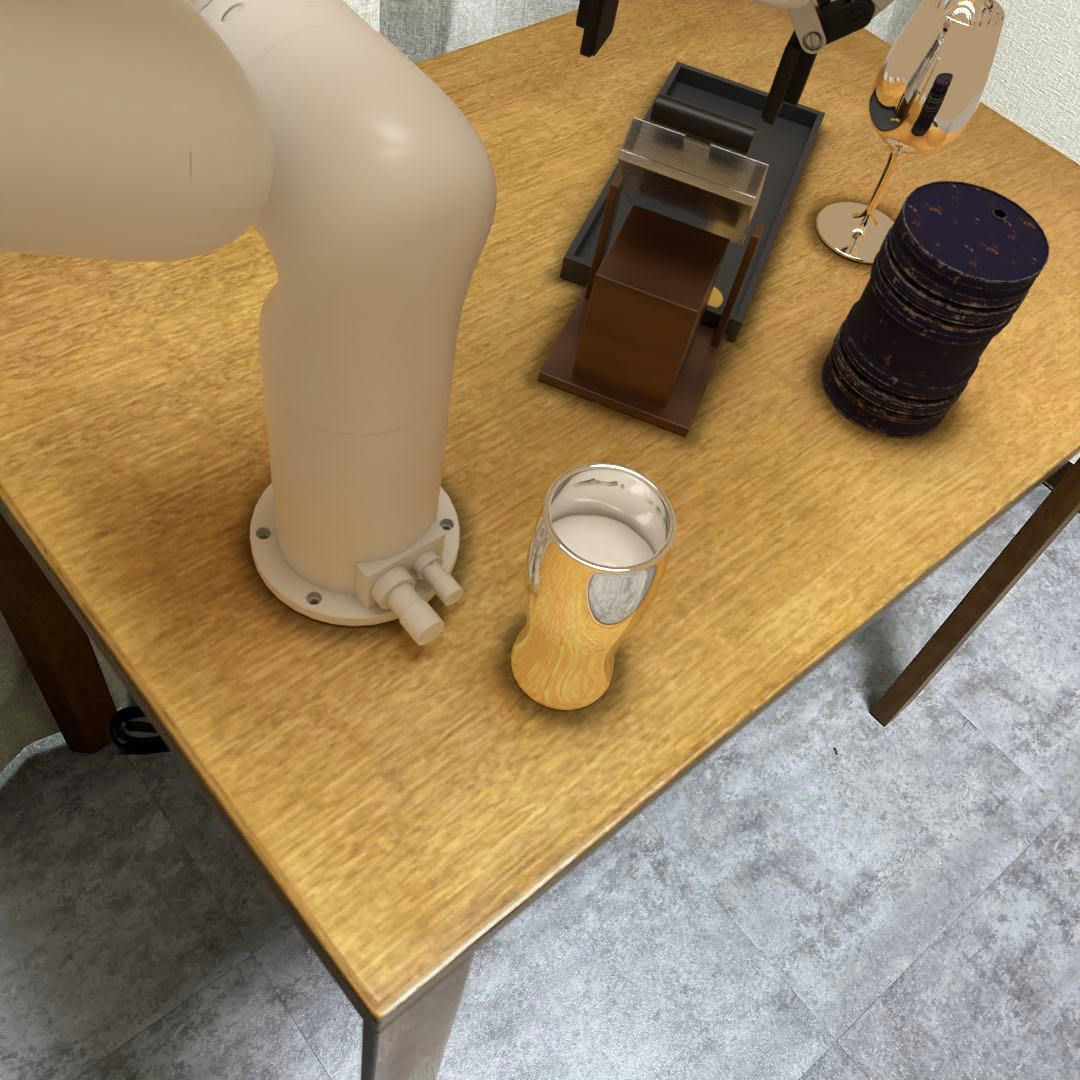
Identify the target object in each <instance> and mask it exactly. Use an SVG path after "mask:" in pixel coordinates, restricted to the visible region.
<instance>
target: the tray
mask: <svg viewBox="0 0 1080 1080" xmlns="http://www.w3.org/2000/svg"><path fill="white" fill-rule="evenodd" d="M659 93H662V94H664V95H667V96H670V97H673V98H676V99H679V100H682V101H684V102H687V103H690V104H693V105H696V106H699V107H701V108H704V109H707V110H710V111H713V112H716V113H719V114H721V115H724V116H727V117H730V118H733V119H736V120H738V121H741V122H744V123H747V124H750V125H753V126H756V127H757V132H756V135H755V138H754V141H753V143H752V146H751V148H750V151H749V153H748V155H744V154H741V153H739V152H736V151H733V150H730V149H727V148H724V147H722V146H719V145H716V144H713V145H714V146H717V147H720V148H723V149H726V150H728V151H731V152H734V153H737V154H740V155H743V156H745V157H748V158H751V159H754V160H757V161H760V162H762V163H765V164H768V165H769V167H768V170H767V173H766V177H765V180H764V184H763V188H762V191H761V195H760V198H759V202H758V204H757V207H756V209H755V212H754V214H753V217H752V220H751V222H750V225H749V227H748V229H747V233H746V237H745V240H744V242H743V245H740V244H737V243H735V242H732V241H730V243H729V246H728V248H727V251H726V254H725V257H724V260H723V262H722V265H721V268H720V271H719V274H718V276H717V279H716V282H715V285H714V287H715V288H717V289H718V290H719V291H720V292H721V294H722V296H723V303H722V305H721V308H720V309H718V308H715V307H713V306H710V305H707V307H706V310H705V313H704V316H703V318H702V321H701V325H704V326H707V327H709V328H712V329H715V330H716V328H717V326H718V323H719V320H720V318H721V315H722V312H723V310H724V307H725V304H726V302H727V299H728V296H729V294H730V291H731V288H732V286H733V283H734V280H735V278H736V275H737V272H738V270H739V267H740V264H741V262H742V259H743V256H744V254H745V251H746V248H747V246H748V243H749V240H750V238H751V235H752V233H753V230H754V228H755V225H756V223H757V222H759V223H762V224H764V225H765V227H764V230H763V233H762V235H761V238H760V240H759V243H758V246H757V248H756V251H755V253H754V256H753V259H752V261H751V264H750V266H749V269H748V272H747V274H746V277H745V279H744V282H743V285H742V287H741V290H740V292H739V295H738V298H737V300H736V303H735V305H734V308H733V311H732V313H731V316H730V318H729V321H728V324H727V326H726V329H725V331H724V333H725V334H727V338H726V340H728V341H730V342H731V341H732V342H733V343H735V342H736V341H737V338H738V335H739V333H740V330H741V328H742V325H743V323H744V320H745V318H746V315H747V313H748V310H749V307H750V305H751V303H752V300H753V297H754V295H755V292H756V290H757V287H758V285H759V282H760V280H761V277H762V275H763V272H764V270H765V267H766V265H767V262H768V260H769V257H770V254H771V252H772V249H773V247H774V245H775V242H776V240H777V237H778V234H779V232H780V229H781V227H782V224H783V222H784V219H785V217H786V214H787V211H788V209H789V207H790V204H791V201H792V198H793V196H794V194H795V192H796V189H797V186H798V184H799V182H800V179H801V176H802V174H803V172H804V169H805V166H806V163H807V162H808V159H809V156H810V154H811V151H812V149H813V146H814V144H815V141H816V139H817V136H818V133H819V131H820V128H821V126H822V123H823V121H824V118H825V116H826V112H824V111H821V110H819V109H816V108H812V107H810V106H807V105H804V104H802V103H798V104H797V106H794V105H791V104H789V103H786V102H784V104H783V106H782V108H781V110H780V112H779V114H778V116H777V118H776V120H775V122H774V124H773V125H770V124H768V123H765V122H763V121H764V119H763V118H761V114H762V112H763V109H764V106H765V103H766V100H767V97H768V94H769V92H766V91H764V90H761V89H758V88H755V87H753V86H749V85H748V84H744V83H741V82H738V81H736V80H732V79H729V78H727V77H724V76H720V75H717V74H715V73H712V72H709V71H707V70H703V69H700V68H699V67H695V66H692V65H690V64H686V63H683V62H680V61H676V62H675V64H674V65H673V67H672V69H671V71H670V73H669V74H668V76H667V77H666V79H665V81H664V83H663V85H662V87H661V88H660V90H659V92H658V94H659ZM658 94H657V95H658ZM655 99H656V97H655V98H654V100H653V101H652V103H651V105H650V107H649V109H648V111H647V113H645V116H644V118H643V119H642V120H644V121H647V122H649V123H652V124H655V125H658V126H661V127H664V128H666V129H669V130H672V131H675V132H678V133H681V134H683V135H685V133H682V132H679V131H676V130H674V129H671V128H668V127H665V126H662V125H660V124H657V123H654V122H651V121H650V114H651V110H652V107H653V104H654V102H655ZM618 172H620V167H619V162H617V164H616V165H615V168H614V169H613V171H612V173H611V175H610V177H609V178H608V180H607V182H606V184H605V185H604V187H603V188H602V190H601V192H600V194H599V196H598V197H597V199H596V201H595V203H594V204H593V206H592V208H591V209H590V211H589V213H588V214H587V216H586V218H585V219H584V222H583V223H582V225H581V227H580V229H579V230H578V232H577V234H576V235H575V237H574V239H573V240H572V242H571V244H570V246H569V247H568V249H567V251H566V253H565V254H564V256H563V260H562V265H561V270H560V274H559V277H560V278H562V279H565V280H568V281H570V282H572V283H576V284H578V285H581V286H584V287H586V286H587V284H588V279H589V275H590V271H591V267H592V262H593V258H594V254H595V250H596V245H597V241H598V237H599V232H600V228H601V224H602V220H603V215H604V211H605V207H606V202H607V198H608V194H609V190H610V185H611V183H612V181H613V180H614V178H615V176H616V174H617V173H618ZM620 173H621V172H620ZM632 207H633V205H630V204H627V200H626V195H625V190H624V186H623V189H622V193H621V197H620V201H619V205H618V209H617V213H616V217H615V221H614V225H613V230H612V234H611V238H610V242H609V246H608V250H607V253H608V251H609V249H610V247H611V245H612V243H613V242H614V240H615V238H616V236H617V234H618V232H619V231H620V229H621V227H622V225H623V223H624V221H625V219H626V218H627V216H628V214H629V212H630V210H631V208H632ZM606 255H607V254H606Z"/></svg>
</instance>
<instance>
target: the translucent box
mask: <svg viewBox="0 0 1080 1080" xmlns="http://www.w3.org/2000/svg"><path fill="white" fill-rule="evenodd" d="M658 93H659V92H658ZM655 98H656V99H655ZM655 98H654V100H655V102H654V101H653V102H654V104H653V103H652V104H653V107H652V110H651V114H650V121H651V122H654V123H657V124H660V125H662V126H665V127H668V128H671V129H674V130H676V131H679V132H682V133H685V135H683V134H681V133H678V132H675V131H672V130H669V129H666V128H664V127H661V126H658V125H655V124H652V123H649V122H647V121H644V120H643V119H641V118H638V117H636V116H633V117H632V119H631V121H630V124H629V127H628V130H627V132H626V135H625V137H624V140H623V143H622V145H621V148H620V150H619V153H618V156H617V161H618V162H617V163H619V167H620V172H621V176H622V181H623V186H624V190H625V195H626V200H627V204H630V205H636V206H639V207H642V208H645V209H648V210H650V211H653V212H656V213H659V214H661V215H664V216H667V217H670V218H672V219H675V220H678V221H681V222H683V223H686V224H689V225H692V226H694V227H697V228H700V229H703V230H705V231H708V232H711V233H714V234H716V235H719V236H722V237H725V238H727V239H730V241H732V242H735V243H737V244H740V245H743V242H744V240H745V237H746V233H747V229H748V227H749V225H750V222H751V220H752V217H753V214H754V212H755V209H756V207H757V204H758V202H759V198H760V195H761V191H762V188H763V184H764V180H765V177H766V173H767V170H768V167H769V165H768V164H765V163H762V162H760V161H757V160H754V159H751V158H748V157H745V156H743V155H740V154H737V153H734V152H731V151H728V150H726V149H723V148H720V147H717V146H714V145H713V144H716V145H719V146H722V147H724V148H727V149H730V150H733V151H736V152H739V153H741V154H744V155H748V153H749V151H750V148H751V146H752V143H753V141H754V138H755V135H756V132H757V127H756V126H753V125H750V124H747V123H744V122H741V121H738V120H736V119H733V118H730V117H727V116H724V115H721V114H719V113H716V112H713V111H710V110H707V109H704V108H701V107H699V106H696V105H693V104H690V103H687V102H684V101H682V100H679V99H676V98H673V97H670V96H667V95H664V94H662V93H659V94H657V95H656V97H655Z"/></svg>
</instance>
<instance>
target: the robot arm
mask: <svg viewBox="0 0 1080 1080" xmlns="http://www.w3.org/2000/svg"><path fill="white" fill-rule="evenodd" d="M749 1H750V2H753V3H756V4H759V5H762V6H765V7H769V8H774V9H779V10H786V11H787V13H788V16H789V19H790V21H791V24H792V27H793V29H794V30H793V32H792V34H791V36H790V38H789V39H788V41H787V44H786V45H785V46H784V49H783V52H782V55H781V58H780V59H779V64H778V65H777V69H776V72H775V75H774V78H773V80H772V84H771V87H770V89H769V91H768V93H769V94H768V97H767V100H766V103H765V106H764V109H763V112H762V114H761V118H763V119H764V121H763V122H765V123H768V124H770V125H773V124H774V122H775V120H776V118H777V116H778V114H779V112H780V110H781V108H782V106H783V104H784V102H786V103H789V104H791V105H794V106H797V104H799V102H800V99H801V97H802V95H803V92H804V91H805V87H806V85H807V82H808V79H809V77H810V74H811V72H812V69H813V66H814V63H815V62H816V60H817V59H816V58H817V55H818V54H819V53H820V52H821V53H822V51H823V50H824V48H825V47H826V46H827V45H829V44H831V43H834V42H836V41H838V40H840V39H843V38H844V37H847V36H849V35H851V34H853V33H856V32H857V31H860V30H862V29H864V28H866V27H868V26H869V24H871V22H872V20H873V19H874V18H875V17H877V15H879V14H880V13H882V12H883V11H884V10H885V9H886V8H887V7H889V6H890V5H891V4H893V2H894V1H895V0H749ZM619 3H620V0H579V2H578V7H577V13H576V17H575V26H576V27H579V28H581V29H583V33H582V38H581V43H580V49H579V55H581V56H583V57H586V58H589V59H590V58H591V57H596V55H597V54H598V53H599V51H600V49H601V48H602V47H603V46H604V44H605V43H606V42H607V40H608V39H609V38H610V36H611V35H612V33H613V31H614V26H615V21H616V18H617V13H618V8H619ZM497 188H498V187H497V180H496V174H495V169H494V165H493V163H492V160H491V157H490V155H489V153H488V150H487V148H486V146H485V144H484V142H483V140H482V138H481V137H480V135H479V134H478V132H477V131H476V129H475V127H474V126H473V125H472V123H471V121H470V120H469V119H468V117H467V116H466V115H465V114H464V113H463V111H462V110H461V109H460V108H459V107H458V106H457V104H456V103H455V102H454V100H453V99H451V98H450V96H449V95H448V94H446V92H445V91H444V90H443V89H442V88H441V87H440V86H439V85H438V84H437V83H436V82H435V81H434V80H433V79H432V78H431V77H429V76H428V75H427V74H426V73H425V72H424V71H423V70H421V68H420V67H418V65H416V64H415V63H414V62H413V61H412V60H411V59H410V58H408V56H407V55H405V54H404V53H403V52H402V51H401V50H400V49H399V48H398V47H397V46H396V45H394V43H392V42H391V41H390V40H389V39H388V38H387V37H386V36H385V35H383V34H382V33H381V32H378V31H376V29H374V28H373V27H372V26H371V25H370V24H369V23H368V22H367V21H366V20H364V18H362V16H360V15H359V14H358V13H357V12H356V11H355V10H354V9H352V7H351V6H350V5H348V4H347V3H346V2H345V1H344V0H0V253H10V254H11V253H12V254H13V253H14V254H24V255H25V254H26V255H35V256H49V257H59V258H60V257H61V258H71V259H73V258H74V259H83V260H96V261H107V262H124V263H158V262H159V263H162V262H165V263H166V262H178V261H179V262H180V261H183V260H184V261H185V260H190V259H194V258H197V257H201V256H204V255H207V254H211V253H213V252H215V251H218V250H220V249H222V248H225V247H226V246H228V245H229V244H232V243H233V242H235V241H236V240H238V238H240V237H241V236H242V235H243V234H245V233H246V232H247V231H248V230H249V229H250V227H253V228H254V230H255V231H256V232H257V233H258V235H259V236H260V238H261V239H262V241H263V242H264V244H265V246H266V248H267V249H268V251H269V253H270V255H271V257H272V260H273V262H274V266H275V269H276V275H277V279H276V283H275V284H274V285H273V286H272V287H271V289H270V290H269V291H268V293H267V294H266V296H265V298H264V300H263V303H262V305H261V307H260V313H259V318H258V319H259V321H258V349H259V359H260V372H261V376H262V387H263V399H264V409H265V420H266V432H267V444H268V451H269V452H268V454H269V455H268V456H269V465H270V477H271V482H270V484H269V485H268V486H267V487H266V488H265V489H264V491H263V492H262V494H261V495H260V497H259V499H258V500H257V503H256V504H255V506H254V510H253V512H252V516H251V520H250V527H249V542H250V550H251V556H252V559H253V562H254V565H255V568H256V571H257V573H258V575H259V576H260V578H261V580H262V581H263V583H264V584H265V586H266V588H268V589H269V590H270V591H271V592H272V593H273V595H274V596H275V597H276V598H277V599H278V600H280V601H281V602H282V603H284V604H285V605H286V606H287V607H289V608H291V609H292V610H294V611H295V612H298V613H300V614H302V615H304V616H306V617H308V618H310V619H312V620H316V621H319V622H323V623H327V624H331V625H338V626H349V627H360V626H375V625H379V624H384V623H387V622H388V623H389V622H391V621H395V620H399V624H400V625H401V626H402V627H403V629H404V630H405V632H406V633H408V635H409V636H410V637H411V639H413V641H414V642H415V643H416V645H418V646H420V647H421V646H426V645H428V644H429V643H431V642H433V641H434V640H436V639H437V638H438V637H439V636H440V635H441V633H442V632H443V631H444V629H445V627H446V625H445V621H443V619H442V618H441V616H440V615H438V613H437V612H436V611H435V610H434V609H433V607H432V606H431V604H430V603H429V602H430V601H431V600H432V599H433V598H434V597H435V596H437V598H438V599H439V600H440V601H441V603H443V605H444V606H445V607H450V606H452V605H454V604H455V603H457V602H458V601H459V600H460V599H461V598H462V597H463V595H464V593H465V592H464V589H463V587H462V586H461V585H460V584H459V583H458V582H457V580H456V579H455V578H454V576H452V573H453V571H454V567H455V565H456V563H457V561H458V554H459V549H460V539H461V536H460V535H461V533H460V532H461V527H460V522H459V517H458V512H457V511H456V508H455V505H454V504H453V502H452V499H451V498H450V496H449V495H448V493H447V492H446V490H445V489H444V488H443V487H442V485H441V484H442V476H443V467H444V466H443V465H444V459H445V458H444V457H445V450H446V441H447V432H448V424H449V423H448V422H449V414H450V405H451V397H452V388H453V378H454V372H455V371H454V365H455V357H456V349H457V342H458V336H459V329H460V323H461V319H462V313H463V308H464V305H465V302H466V297H467V294H468V290H469V287H470V284H471V282H472V279H473V276H474V273H475V271H476V268H477V266H478V263H479V261H480V258H481V256H482V253H483V251H484V248H485V246H486V244H487V241H488V238H489V236H490V232H491V230H492V227H493V223H494V218H495V215H496V211H497V210H496V209H497V202H498V201H497V200H498V190H497Z"/></svg>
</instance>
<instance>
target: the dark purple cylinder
mask: <svg viewBox="0 0 1080 1080" xmlns="http://www.w3.org/2000/svg"><path fill="white" fill-rule="evenodd" d="M893 222H894V224H893V225H892V226H891V228H890V229H889V231H888V233H887V235H886V237H885V239H884V241H883V243H882V245H881V247H880V250H879V252H878V253H877V254H876V256H875V259H874V261H873V263H872V266H871V268H870V275H869V276H870V277H869V279H868V281H867V283H866V285H865V287H864V289H863V291H862V293H861V295H860V297H859V299H858V300H856V301H855V302H854V304H853V305H852V306H851V308H850V309H849V311H848V313H847V315H846V317H845V319H844V320H843V321H842V323H841V324H840V326H839V329H838V330H837V332H836V334H835V336H834V338H833V341H832V345H831V348H830V350H829V353H828V354H827V356H826V357H825V359H824V361H823V364H822V367H821V373H820V375H821V376H820V377H821V379H820V380H821V384H822V388H823V390H824V392H825V395H826V397H827V398H828V400H829V401H830V403H831V404H832V405H833V407H834V408H835V409H836V410H837V411H838V412H839V413H840V414H841V415H842V416H843V417H844V418H846V419H847V420H848V421H850V422H851V423H853V424H854V425H856V426H857V427H859V428H861V429H863V430H866V431H868V432H870V433H873V434H876V435H879V436H883V437H887V438H891V439H892V438H893V439H914V438H917V437H922V436H925V435H927V434H929V433H931V432H932V431H934V430H935V429H936V428H938V426H940V424H941V423H942V422H943V420H944V419H945V416H946V415H947V413H948V412H949V410H950V409H951V408H952V407H953V405H954V404H956V402H957V401H958V400H959V398H960V397H961V396H962V395H963V393H964V391H965V389H967V386H968V384H969V381H970V379H971V378H972V377H973V375H974V374H975V371H976V370H977V368H978V366H979V363H980V358H981V356H983V354H984V352H985V350H986V349H987V348H988V346H989V344H990V343H991V342H992V340H993V338H995V337H996V336H998V335H999V334H1000V333H1001V332H1002V331H1003V330H1004V329H1005V328H1006V327H1007V326H1008V325H1009V323H1010V322H1011V321H1012V319H1013V316H1014V314H1015V313H1017V312H1018V310H1019V308H1021V305H1022V304H1023V302H1024V301H1025V299H1026V298H1027V297H1028V294H1029V292H1030V289H1031V288H1032V286H1033V285H1034V283H1035V282H1036V279H1037V278H1038V277H1039V276H1040V274H1041V273H1042V272H1043V270H1044V268H1045V267H1046V265H1047V263H1048V261H1049V258H1050V244H1049V240H1048V237H1047V235H1046V233H1045V231H1044V230H1043V228H1042V226H1041V225H1040V223H1038V221H1037V220H1036V219H1035V218H1034V216H1032V215H1031V213H1029V212H1028V211H1027V210H1026V209H1025V208H1024V207H1022V206H1021V205H1020V204H1018V203H1017V202H1016V201H1014V200H1013V199H1010V198H1009V197H1007V196H1005V195H1003V194H1001V193H999V192H997V191H995V190H993V189H990V188H988V187H985V186H982V185H979V184H975V183H970V182H966V181H957V180H938V181H931V182H928V183H924V184H922V185H920V186H918V187H915V188H914V189H913V190H912V191H911V192H910V193H909V194H908V195H907V196H906V198H905V200H904V202H903V204H902V206H901V208H900V210H899V213H898V214H897V216H896V218H895V219H894V221H893Z"/></svg>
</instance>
